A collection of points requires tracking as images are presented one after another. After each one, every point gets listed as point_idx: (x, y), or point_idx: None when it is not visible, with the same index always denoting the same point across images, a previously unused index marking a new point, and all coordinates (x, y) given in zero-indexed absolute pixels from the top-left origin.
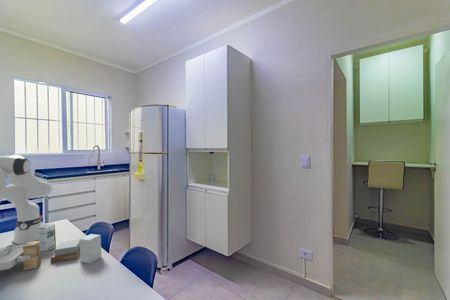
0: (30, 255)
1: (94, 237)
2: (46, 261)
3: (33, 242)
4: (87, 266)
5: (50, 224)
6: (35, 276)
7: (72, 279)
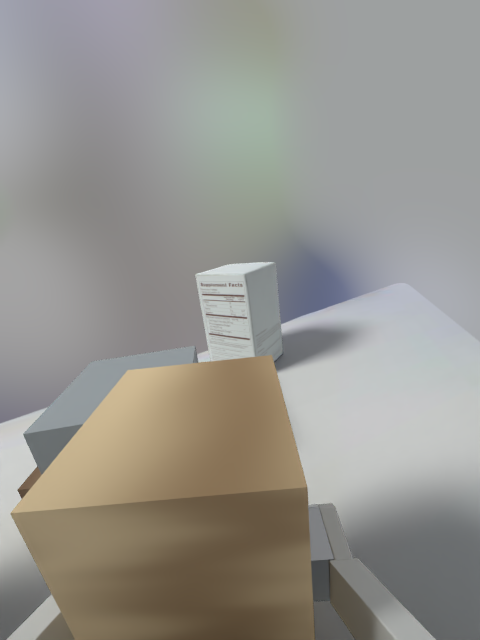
0: (309, 506)
1: (249, 263)
2: None
3: (139, 410)
4: (301, 353)
5: None
6: (412, 502)
7: (390, 355)
